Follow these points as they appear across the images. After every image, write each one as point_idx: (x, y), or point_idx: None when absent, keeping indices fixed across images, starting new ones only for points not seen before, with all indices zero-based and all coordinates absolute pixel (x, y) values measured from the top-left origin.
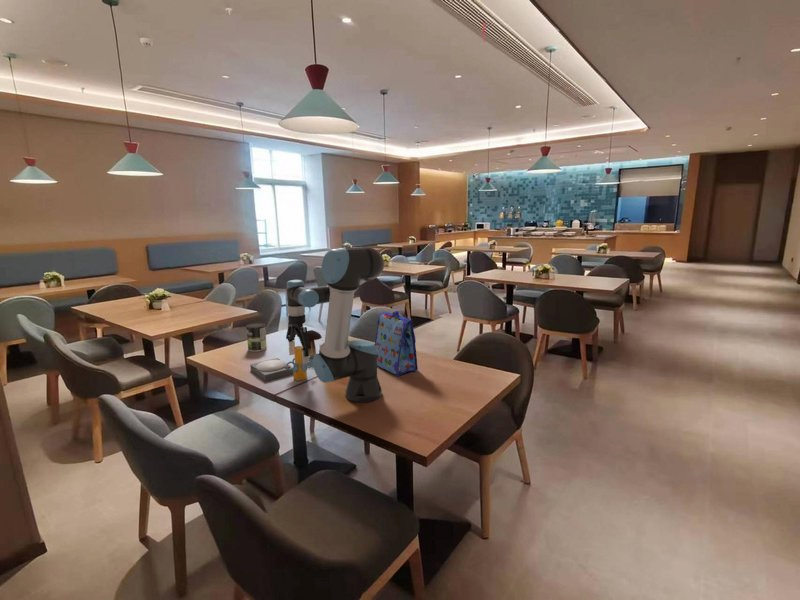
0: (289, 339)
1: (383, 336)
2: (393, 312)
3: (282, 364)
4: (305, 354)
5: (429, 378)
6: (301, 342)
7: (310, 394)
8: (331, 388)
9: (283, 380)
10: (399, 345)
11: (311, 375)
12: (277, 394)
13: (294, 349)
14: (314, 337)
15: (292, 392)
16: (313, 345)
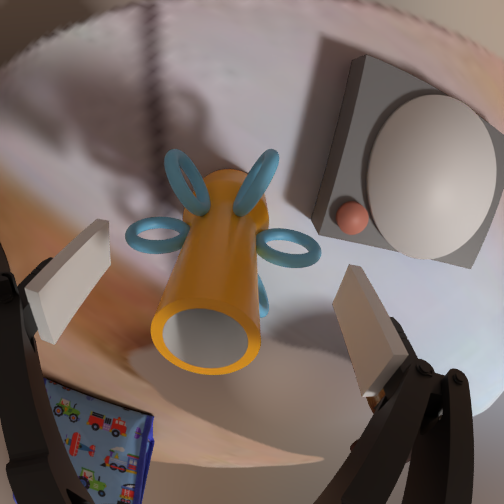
0: (404, 385)
1: (90, 485)
2: None
3: (399, 221)
4: (39, 270)
5: None
6: (6, 362)
7: (39, 129)
8: (39, 224)
9: (278, 123)
10: None
11: None
12: (144, 10)
13: (216, 288)
14: None
15: (104, 73)
16: (375, 410)
